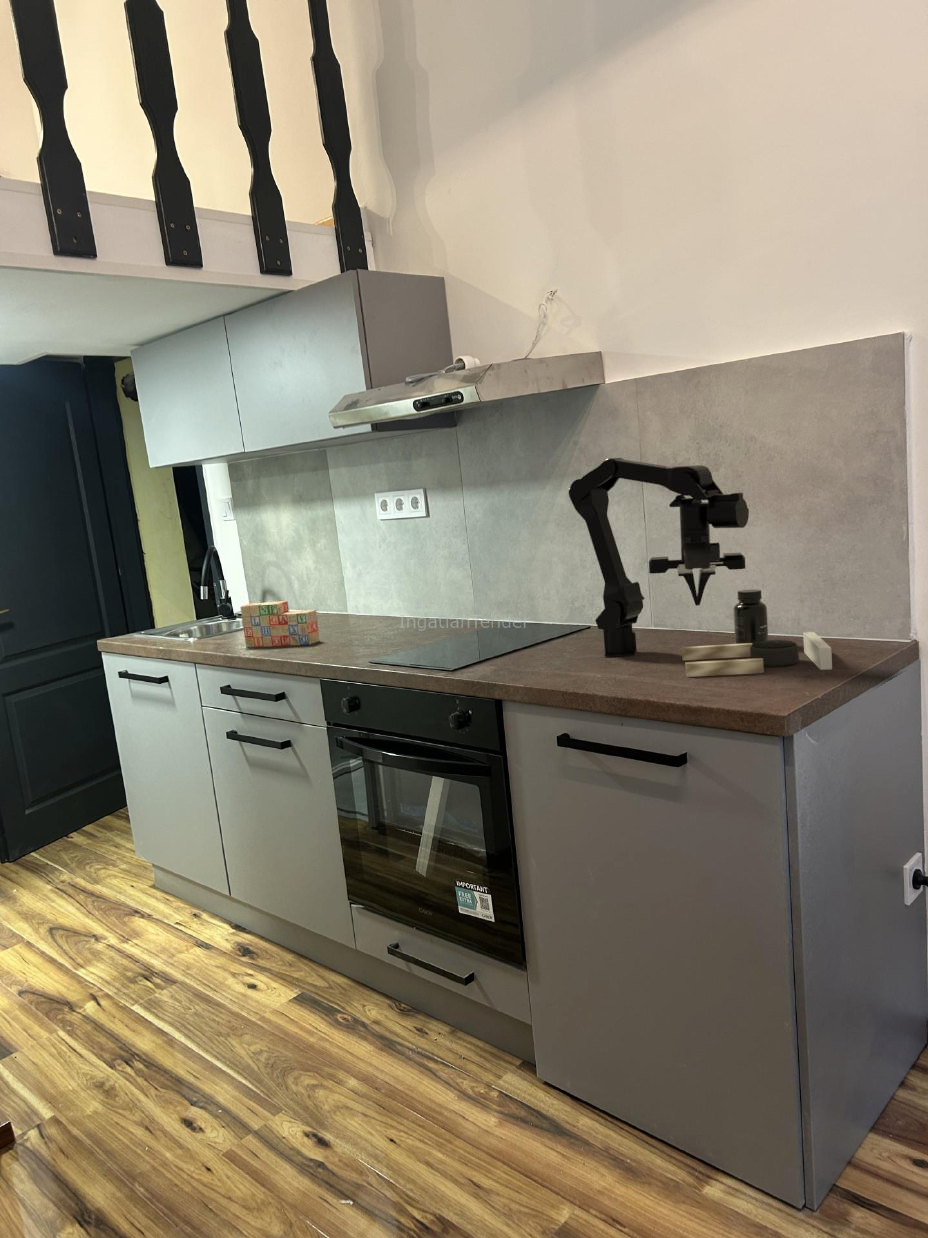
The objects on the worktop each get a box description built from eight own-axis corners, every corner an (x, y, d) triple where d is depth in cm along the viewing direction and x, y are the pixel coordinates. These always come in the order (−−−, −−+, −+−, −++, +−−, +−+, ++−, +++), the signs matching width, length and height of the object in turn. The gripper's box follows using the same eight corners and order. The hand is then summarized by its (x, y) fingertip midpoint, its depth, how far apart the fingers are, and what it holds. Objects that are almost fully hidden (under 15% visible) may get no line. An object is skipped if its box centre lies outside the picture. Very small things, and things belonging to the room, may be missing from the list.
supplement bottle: (770, 648, 190) (767, 591, 188) (736, 650, 191) (733, 594, 190) (766, 642, 196) (763, 587, 195) (734, 644, 198) (731, 589, 196)
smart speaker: (804, 659, 177) (803, 639, 176) (791, 669, 170) (790, 648, 169) (759, 658, 182) (758, 638, 181) (744, 667, 175) (743, 647, 174)
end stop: (820, 669, 166) (819, 648, 166) (804, 652, 183) (803, 632, 182) (832, 669, 166) (831, 647, 165) (814, 651, 182) (813, 631, 182)
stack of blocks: (320, 641, 261) (315, 599, 259) (309, 645, 255) (304, 602, 254) (257, 643, 269) (251, 602, 267) (245, 647, 263) (239, 605, 261)
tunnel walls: (686, 677, 171) (685, 664, 171) (682, 659, 188) (681, 647, 187) (763, 672, 168) (763, 659, 168) (752, 655, 185) (751, 643, 184)
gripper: (647, 534, 177) (650, 613, 179) (747, 528, 173) (749, 609, 175) (647, 530, 187) (651, 604, 190) (741, 524, 183) (743, 600, 186)
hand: (697, 605), depth 185 cm, fingers closed
